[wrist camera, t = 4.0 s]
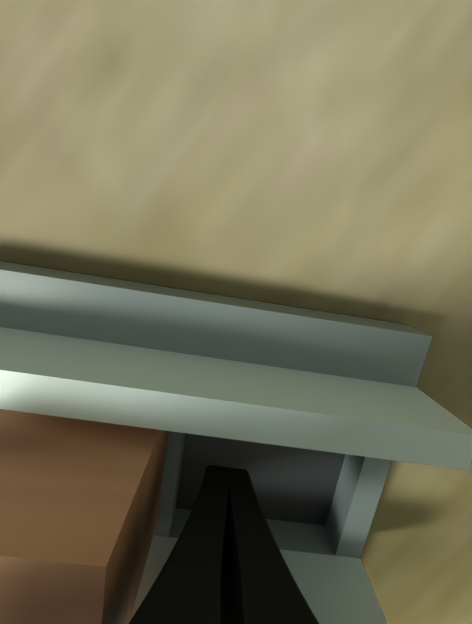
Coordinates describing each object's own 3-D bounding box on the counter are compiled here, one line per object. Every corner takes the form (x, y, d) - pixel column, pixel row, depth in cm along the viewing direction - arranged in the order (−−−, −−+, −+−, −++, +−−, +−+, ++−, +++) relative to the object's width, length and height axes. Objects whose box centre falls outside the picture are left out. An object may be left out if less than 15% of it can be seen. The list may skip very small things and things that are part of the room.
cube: (157, 520, 10) (91, 761, 5) (19, 504, 10) (-179, 743, 5) (172, 400, 9) (106, 567, 4) (18, 379, 9) (-232, 531, 4)
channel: (330, 569, 13) (373, 708, 9) (-25, 531, 12) (-146, 664, 8) (404, 324, 10) (508, 368, 6) (-39, 255, 10) (-224, 258, 6)
